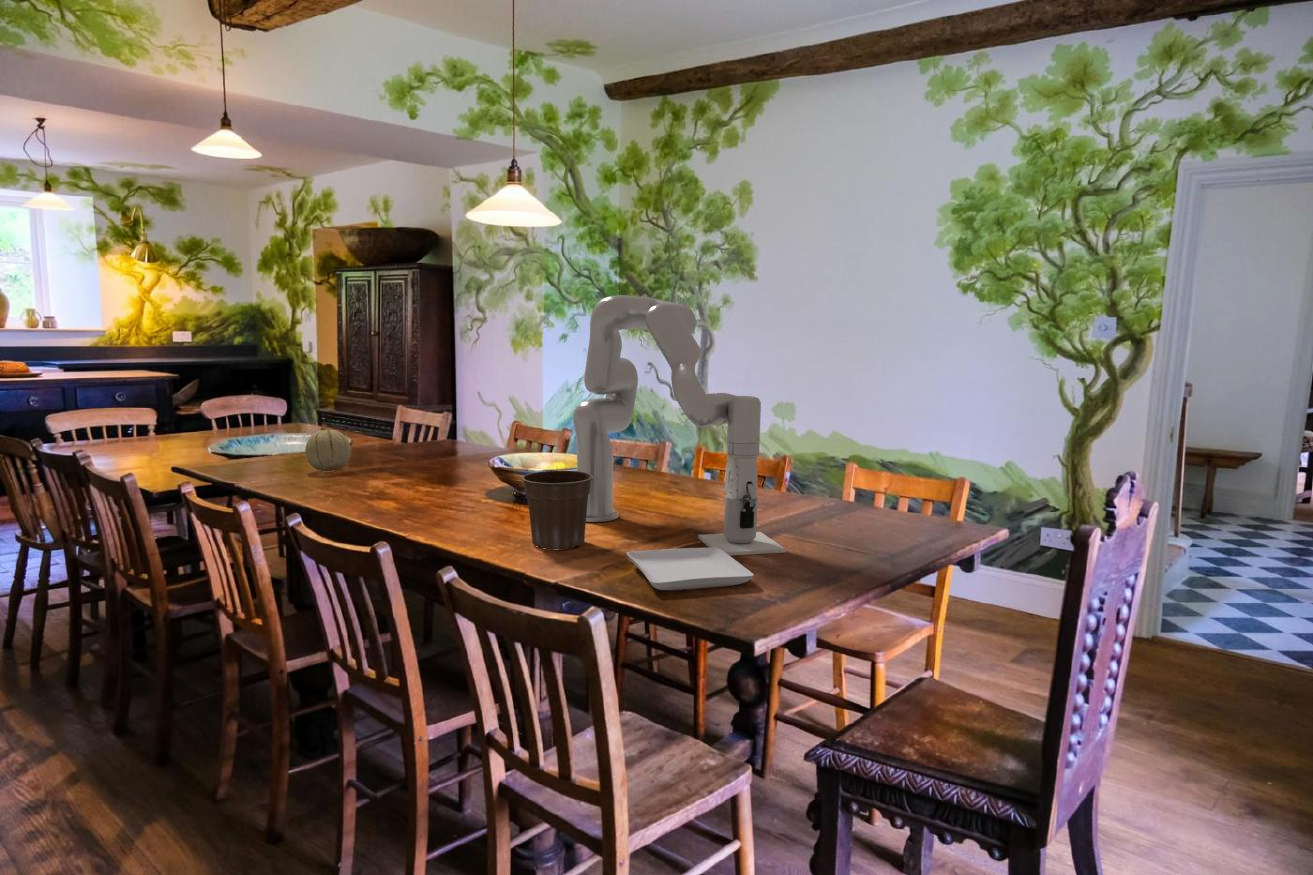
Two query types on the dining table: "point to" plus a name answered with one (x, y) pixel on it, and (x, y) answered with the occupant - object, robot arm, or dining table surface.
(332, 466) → the cantaloupe
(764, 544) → the mat
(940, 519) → the dining table surface
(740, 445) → the robot arm
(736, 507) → the can
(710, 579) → the salad plate
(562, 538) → the plant pot
